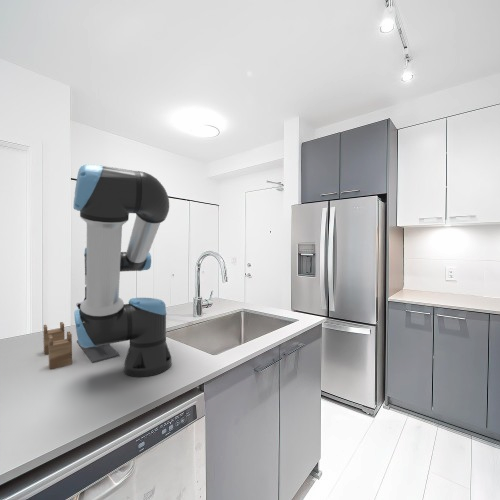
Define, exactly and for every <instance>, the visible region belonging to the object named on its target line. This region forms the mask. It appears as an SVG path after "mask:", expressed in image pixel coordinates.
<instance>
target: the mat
mask: <svg viewBox="0 0 500 500" xmlns="http://www.w3.org/2000/svg"><path fill="white" fill-rule="evenodd" d="M76 343H77V344H78V345H79V347H80V348H81V349H82V351H83V352H84V353H85V355H86V356H87V357H88V359H89V361H90V362H91V363H92V364H94V363H98V362H101V361H105V360H106V361H107V360H108V359H113V358H114V359H115V358H116V357H120V353H119V352H118V351H117V350H116V349H115V348H114V347H113V346H111V344H109V345H105V346H101V347H99V346H98V347H88V348H83V347H81V346H80V344H79V342H78V339H77V340H76Z"/></svg>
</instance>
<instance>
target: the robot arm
mask: <svg viewBox="0 0 500 500" xmlns="http://www.w3.org/2000/svg"><path fill="white" fill-rule="evenodd" d="M169 199H170V198H169V195H168V193H167V191H166V189H165V187H164V186H163V184H162V183H161V182H160V181H159V180H158V178H156V177H155V176H153V175H152V174H150V173H148V172H144V171H139V170H131V169H124V168H118V167H111V166H106V165H105V166H104V165H98V164H97V165H95V164H83V165H81V166H80V167H79V169H78V173H77V177H76V182H75V188H74V197H73V209H74V210H75V211H78V212H79V217H80V218H81V220H83V221H84V222H85V223H86V247H85V248H84V253H83V255H84V285H85V287H84V299H83V301H81V302H77V303H76V307H77V309H76V310H74V323H75V331H76V337H77V340H78V342H79V344H80V346H81V347H83V348H88V347H98V346H100V345H106V344H109V345H111V344H115V343H116V344H117V343H120V342H121V343H122V342H125V341H129V347H128V350H127V354H126V357H125V360H124V363H123V371H124V373H125V375H128V376H130V377H133V378H134V377H135V378H142V377H150V376H154V375H155V376H156V375H159V374H160V373H163V372H165V371H167V370H168V369H169V368H171V366H172V355H171V352H170V348H169V347H168V344H167V309H166V307H167V306H166V303H165V302H164V301H163V300H162V299H158V298H154V297H153V298H152V297H134V298H133V297H132V298H130V299H129V300H128V303H125V302H124V300H123V299H122V298H120V297H119V296H120V294H119V293H120V275H121V272H142V271H148V270H150V269H151V267H152V255H151V253H150V250H151V248H152V245H153V242H154V240H155V237H156V235H157V232H158V231H159V229H160V225H161V223H163V222H164V221H166V218H167V217H168V214H169V212H170V200H169ZM130 214H135V219H134V223H133V227H132V229H131V230H132V231H131V235H130V237H129V240H128V241H129V242H128V245H127V249H126V251H122V235H123V234H122V233H123V232H122V231H123V225H125V224H126V223H127V222H128V221H129V215H130ZM124 303H125V304H124ZM79 344H78V345H79ZM80 346H79V347H80ZM81 347H80V348H81Z"/></svg>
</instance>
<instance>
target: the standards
mask: <svg viewBox="0 0 500 500" xmlns="http://www.w3.org/2000/svg"><path fill="white" fill-rule="evenodd" d="M59 327H60V328H55V329H51V330H50V329H49V330H48V326H47V324H43V353H44V355H45V356H47V355H48V367H49V370H54V369H58V368H62V367H65V366H69V365H72V364H73V340H72V337H73V336H72V335H73V334H72V332H71V331H66V339H65V323H64V322H63V321H60V322H59Z"/></svg>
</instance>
